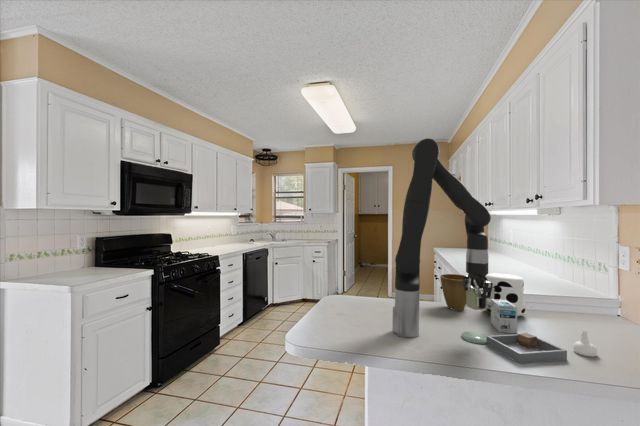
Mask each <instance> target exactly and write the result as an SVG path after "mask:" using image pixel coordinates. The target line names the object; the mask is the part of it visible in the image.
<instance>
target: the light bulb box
mask: <svg viewBox="0 0 640 426" xmlns="http://www.w3.org/2000/svg"><path fill="white" fill-rule="evenodd" d="M490 324H491V325H492V326H493V327H494V328H495V329H496V330H497V331H498V332H499V333H509V334H518V317H517V306H515V305H513V304H512V303H510V302H509V301H507V300H497V299H491V313H490Z"/></svg>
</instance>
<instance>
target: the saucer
mask: <svg viewBox="0 0 640 426" xmlns="http://www.w3.org/2000/svg"><path fill="white" fill-rule="evenodd" d="M487 336H488V335H487V334H485V333H482V332H478V331H464V332H461V338H462V339H463V340H464V341H467V342H469V343H473V344H477V345H478V344H479V345H487Z"/></svg>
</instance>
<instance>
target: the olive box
mask: <svg viewBox="0 0 640 426" xmlns="http://www.w3.org/2000/svg"><path fill="white" fill-rule="evenodd" d="M481 294H483V292H481ZM486 294H487V293H486ZM465 307H468V308H470V309H472V310H474V311H482V310H486V309H487V298H486V306H485V308H484V309H480V308H479V295H478V292H477V291H476V290H466V306H465Z"/></svg>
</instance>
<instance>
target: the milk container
mask: <svg viewBox="0 0 640 426" xmlns="http://www.w3.org/2000/svg"><path fill="white" fill-rule="evenodd" d="M486 279H487V281H488V282H492V283H493V286H492V291H491V297H490V298H487V309H486V311H487V312H488V313H490V314H491V299H497V300H507V301H509V302H510V303H512V304H513V305H515V306H517V318H519V317H520V318H521V317H523V316H524V315H525V313H526V301H525V298H524V289H525V288H524V285H525V282H524V278H523V277H521V276H518V275H513V274H508V273H507V274H506V273H504V274H503V273H488V274H487V275H486ZM487 293H488V292H487Z"/></svg>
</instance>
